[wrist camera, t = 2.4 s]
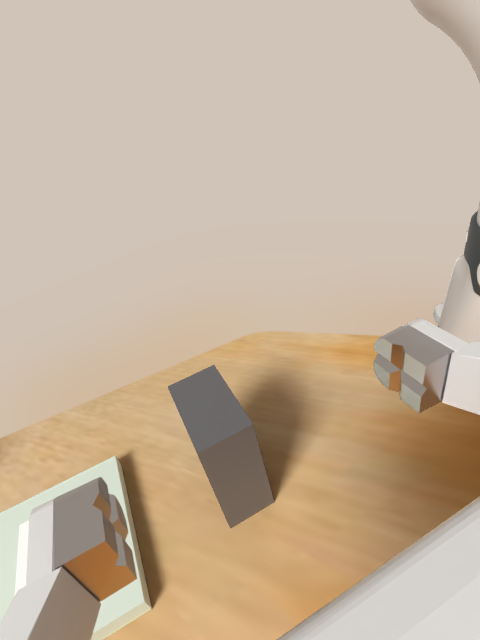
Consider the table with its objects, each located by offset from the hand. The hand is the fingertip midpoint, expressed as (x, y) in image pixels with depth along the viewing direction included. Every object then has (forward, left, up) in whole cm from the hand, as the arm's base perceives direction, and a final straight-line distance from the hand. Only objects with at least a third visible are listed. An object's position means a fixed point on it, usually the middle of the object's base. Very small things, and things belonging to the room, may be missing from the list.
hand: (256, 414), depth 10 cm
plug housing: (0, -12, -21) cm, 25 cm away
